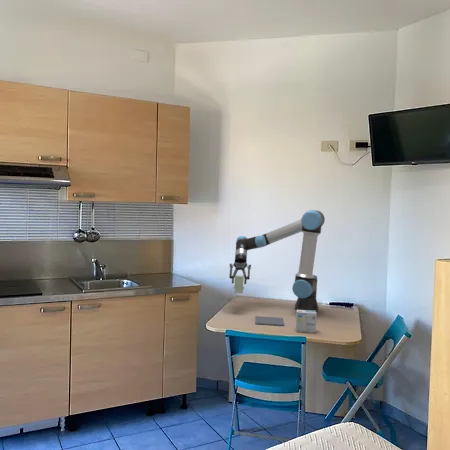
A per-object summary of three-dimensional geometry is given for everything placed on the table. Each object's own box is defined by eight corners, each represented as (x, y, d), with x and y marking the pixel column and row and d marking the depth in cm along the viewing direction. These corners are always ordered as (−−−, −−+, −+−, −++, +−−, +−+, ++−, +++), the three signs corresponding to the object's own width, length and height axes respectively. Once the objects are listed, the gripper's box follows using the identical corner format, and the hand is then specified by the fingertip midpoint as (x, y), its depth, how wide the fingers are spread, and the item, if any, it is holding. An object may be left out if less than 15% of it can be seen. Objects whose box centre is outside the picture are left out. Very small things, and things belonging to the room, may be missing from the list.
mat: (282, 319, 274) (282, 317, 274) (284, 326, 258) (284, 324, 258) (255, 317, 275) (255, 316, 275) (255, 324, 259) (255, 323, 259)
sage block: (242, 291, 287) (243, 275, 286) (242, 293, 282) (243, 276, 281) (234, 291, 287) (235, 274, 286) (234, 292, 282) (235, 276, 281)
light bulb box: (315, 329, 254) (316, 310, 253) (316, 333, 247) (317, 313, 246) (295, 328, 255) (296, 309, 254) (295, 331, 248) (296, 311, 247)
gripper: (254, 261, 299) (253, 292, 283) (226, 260, 300) (223, 290, 284) (255, 254, 293) (253, 284, 277) (226, 253, 294) (223, 283, 279)
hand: (238, 287), depth 281 cm, fingers closed on sage block, 5 cm apart
